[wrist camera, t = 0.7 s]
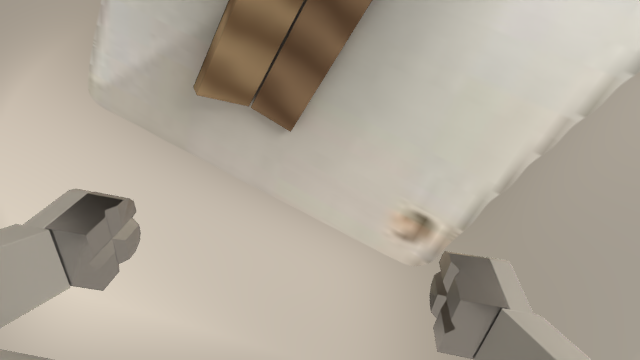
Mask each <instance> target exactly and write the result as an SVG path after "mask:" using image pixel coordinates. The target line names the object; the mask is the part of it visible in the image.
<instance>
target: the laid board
mask: <svg viewBox="0 0 640 360" xmlns="http://www.w3.org/2000/svg"><path fill="white" fill-rule="evenodd" d="M371 1H372V0H307V1H306V3H305V5H304V7H303V9H302V11H301V13H300V15H299V17H298V19H297V20H296V22H295V24H294V26H293V28H292V30H291V32H290V34H289V36H288V38H287V39H286V41H285V43H284V45H283V47H282V49H281V51H280V53H279V55H278V57H277V59H276V60H275V62H274V64H273V66H272V68H271V70H270V72H269V74H268V76H267V78H266V80H265V81H264V83H263V85H262V87H261V89H260V91H259V93H258V95H257V97H256V99H255V100H254V102H253V104H252V106H251V108H252V109H254V110H256V111H257V112H259V113H261V114H262V115H264V116H266V117H267V118H269V119H270V120H272V121H274V122H275V123H277V124H279V125H280V126H282V127H284V128H285V129H287V130H289V131H290V132H291V130H292V129H293V127H294V125H295V124H296V122H297V121H298V119H299V117H300V116H301V114H302V112H303V111H304V109H305V108H306V106H307V104H308V103H309V101H310V100H311V98H312V96H313V95H314V93H315V91H316V90H317V88H318V87H319V85H320V83H321V82H322V80H323V79H324V77H325V75H326V74H327V72H328V71H329V69H330V67H331V66H332V64H333V62H334V61H335V59H336V58H337V56H338V54H339V53H340V51H341V50H342V48H343V46H344V45H345V43H346V41H347V40H348V38H349V37H350V35H351V33H352V32H353V30H354V29H355V27H356V25H357V24H358V22H359V21H360V19H361V17H362V16H363V14H364V12H365V11H366V9H367V8H368V6H369V4H370V3H371Z"/></svg>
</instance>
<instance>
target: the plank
mask: <svg viewBox="0 0 640 360" xmlns="http://www.w3.org/2000/svg"><path fill="white" fill-rule="evenodd" d="M303 1H304V0H229V1H228V4H227V6H226V9H225V11H224V14H223V16H222V18H221V21H220V23H219V26H218V28H217V31H216V33H215V35H214V38H213V40H212V43H211V45H210V48H209V50H208V53H207V55H206V57H205V60H204V62H203V65H202V67H201V70H200V72H199V74H198V77H197V79H196V82H195V84H194V90H195V92H196V94H197V95H199V96H204V97H208V98H213V99H218V100H222V101H227V102H231V103H236V104H241V105H245V106H249V105H250V103H251V101H252V99H253V97H254V95H255V93H256V91H257V89H258V88H259V86H260V84H261V82H262V80H263V78H264V76H265V74H266V72H267V70H268V68H269V66H270V64H271V63H272V61H273V59H274V57H275V55H276V53H277V51H278V49H279V47H280V45H281V43H282V41H283V39H284V38H285V36H286V34H287V32H288V30H289V28H290V26H291V24H292V22H293V20H294V18H295V16H296V15H297V13H298V11H299V9H300V7H301V5H302V3H303Z"/></svg>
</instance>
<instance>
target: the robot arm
mask: <svg viewBox="0 0 640 360" xmlns="http://www.w3.org/2000/svg"><path fill="white" fill-rule="evenodd" d="M135 213H136V208H135V205H134V201H132V200H131V199H129V198H124V197H119V196H114V195H108V194H103V193H98V192H91V191H86V190H80V189H72V190H69V191H67V192H66V193H65V194H63V195H62V196H61V197H59V198H58V199H57V200H56V201H54V202H52V203H51V204H50V205H48V206H47V207H46V208H44V209H43V210H42V211H40V212H39V213H38V214H36V215H35V216H34V217H32V218H31V219H30V220H28V221H27V222H26V223H25V224H23V225H19V224H15V225H12V226H9V227H6V228H3V229H0V328H2V327H3V326H5V325H7V324H9V323H10V322H12V321H14V320H15V319H17V318H19V317H20V316H22V315H24V314H26V313H27V312H29V311H31V310H33V309H34V308H36V307H38V306H39V305H41V304H43V303H45V302H46V301H48V300H50V299H51V298H53V297H55V296H57V295H58V294H60V293H62V292H64V291H65V290H67V289H69V288H70V286H76V287H82V288H88V289H95V290H101V291H103V290H104V289H105V288H106V287H107V286H108V284H109V283H110V282H111V281H112V280H113V278H114V277H115V276H116V275H117V274H118V272H119V264H120V263H122V262H124V261H126V260H128V259H130V258H131V256H132V255H133V254H134V253H135V251H136V249H137V246H138V244H139V241H140V227H139V224H138V223H137V222H136V221H135V220H134V219H133V218H132V217H133V215H134V214H135ZM439 264H440V269H441V271H440V272H439V273H437V274H435V275H434V278H433V281H432V284H431V289H430V309H431V313H432V314H433V315H434V316H435V317H436V318H437V320H436V322H435V324H434V327H433V329H434V334H435V341H436V347H437V351H438V352H441V353H446V354H451V355H456V356H461V357H466V358H470V359H474V360H591V359H590V358H589V357H588V356H587V355H586V354H585V353H583V352H582V351H581V350H580V349H579V348H578V347H576V346H575V345H574V344H573V343H572V342H570V340H568V339H567V338H566V337H565V336H564V335H562V334H561V333H560V332H559V331H558V330H557V329H556V328H555V327H553V326H552V325H551V324H550V323H549V322H548V321H546V320H545V319H544V318H543V317H542V316H541V315H538V314H533V311H532V309H531V307H530V305H529V303H528V301H527V298H526V296H525V294H524V292H523V289H522V287H521V285H520V283H519V281H518V278H517V276H516V274H515V272H514V269H513V268H512V265H511V263H510V262H509V261H508V260H503V259H496V258H489V257H486V258H484V257H480V256H474V255H467V254H460V253H454V252H448V251H445V252H444V253H443V254H442V257H441V259H440V261H439ZM0 360H52V359H48V358H43V357H38V356H33V355H27V354H22V353H17V352H12V351H7V350H2V349H0Z"/></svg>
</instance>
